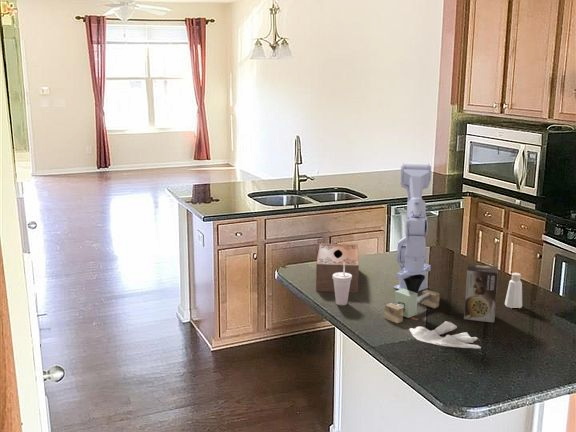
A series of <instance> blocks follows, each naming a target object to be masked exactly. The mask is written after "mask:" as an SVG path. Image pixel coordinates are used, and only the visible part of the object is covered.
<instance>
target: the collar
mask: <svg viewBox="0 0 576 432" xmlns="http://www.w3.org/2000/svg"><path fill="white" fill-rule="evenodd" d="M418 294H419V292H418V293H415V292H412V291H409V290H406V289H400V290H399V289H396V290H395V291H394V301H393V302H394V303H393V304H394V305H398V304H400V303H404V304H405V309H403V317H405V318H407V319H408V318H409V317H414V316H417V314H418V313H417V310H418V304H417V297H419V295H418ZM409 319H410V318H409Z"/></svg>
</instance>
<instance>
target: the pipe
mask: <svg viewBox="0 0 576 432" xmlns="http://www.w3.org/2000/svg"><path fill="white" fill-rule="evenodd" d="M430 298H431V295H430V294H429V293H427V294H424V295H422V294H421V295H418V296H417V305H419V304H421V303H422V302H424V301H426V300H429V299H430ZM397 306H400V307H403V309H405V304H404V303H400V304H398V305H397ZM390 308H391V307H390ZM389 310H390V309H389ZM391 310H394V309H392V308H391ZM393 313H394V311H393ZM393 313H392V312H391V314H393Z"/></svg>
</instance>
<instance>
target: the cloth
mask: <svg viewBox="0 0 576 432" xmlns="http://www.w3.org/2000/svg"><path fill="white" fill-rule="evenodd" d="M456 329H458V326H457V325H455V324H454V323H452V322H451V321H446V320H445V321H444V322H443V323H441V324H440V325H438V326H437V327H436V328H435V329H432V330H430V329H428V328H427V327H425V326H421V325H420V326H416V327H415V328H411V327H410V328H409V332H410V333H411V335H412V336H413V338H414V339H416V340H417V341H419V342H424V343H427V344H433V345H437V346H442V347H449V348H451V347H452V348H462V349H481V348H482V347H481V346H480V345H479V344H474V342H481V339H480V338H478V337H476V336H471V335H470V334H469V333H468V332H467V331H466V332H461V333H456V334H451V335H450V334H446V333H449V332H451V331H452V332H453V331H454V330H456ZM444 334H446V335H445V336H440V335H444ZM471 343H473V344H471Z"/></svg>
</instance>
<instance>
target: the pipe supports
mask: <svg viewBox="0 0 576 432" xmlns="http://www.w3.org/2000/svg"><path fill="white" fill-rule="evenodd" d="M421 292H422V293H421V295H424V294H427V293H429V294H430V295H431V298H430V299H429V300H426V301H424V302H421V303H420V304H421V305H423V304H424V306H425V307H429V308H432V309H436V308H439V306H440V293H439V292H436V291H432V290H429V289H423V290H421ZM390 307H391V308H392V309H394V310H391V308H390ZM389 309H390V310H389ZM393 311H394V313H393ZM391 312H392V313H393V314H391ZM384 319H385V320H388V321H390V322H393V323H396V324H399V323H401V322H403V320H404V316H403V307H400V306H397V305H394V303H392V302H389V303H387V304H384ZM409 319H410V320H414V321H416V322H417V321H419V318H415V317H414V316H412V317H409Z"/></svg>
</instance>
